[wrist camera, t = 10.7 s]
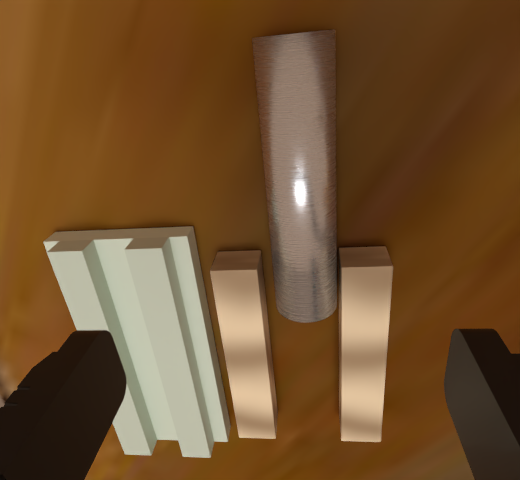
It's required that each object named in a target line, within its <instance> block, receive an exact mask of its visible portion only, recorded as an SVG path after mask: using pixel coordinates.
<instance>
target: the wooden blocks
mask: <svg viewBox="0 0 520 480" xmlns="http://www.w3.org/2000/svg"><path fill="white" fill-rule="evenodd" d="M210 274H211V280H212V286H213V291H214V297H215V303H216V308H217V314H218V320H219V325H220V331H221V337H222V342H223V348H224V354H225V359H226V365H227V371H228V376H229V382H230V388H231V393H232V399H233V405H234V411H235V416H236V422H237V428H238V433H239V438H269V439H276V430H277V416H278V410H277V400H276V391H275V381H274V372H273V362H272V352H271V343H270V333H269V324H268V314H267V305H266V295H265V285H264V276H263V266H262V257H261V250H252V251H221V252H217V255H216V257H215V259H214V262H213V264H212V267H211V269H210ZM392 274H393V265H392V262H391V259H390V257H389V254H388V251H387V249H386V246H378V247H347V248H339V419H340V430H341V441H362V442H381V430H382V416H383V402H384V387H385V373H386V359H387V345H388V331H389V317H390V302H391V288H392Z"/></svg>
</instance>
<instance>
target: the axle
mask: <svg viewBox="0 0 520 480" xmlns="http://www.w3.org/2000/svg"><path fill="white" fill-rule="evenodd" d="M252 43H253V54H254V65H255V76H256V87H257V98H258V109H259V120H260V131H261V142H262V153H263V163H264V174H265V185H266V196H267V207H268V218H269V229H270V240H271V251H272V262H273V273H274V284H275V295H276V306H277V309H278V311H279V313H280V314H281V315H282V316H284V317H285V318H287V319H289V320H292V321H296V322H316V321H320V320H323V319H325V318H327V317H329V316H330V315H331V314H332V313H333V312H334V311H335V309H336V307H337V239H336V56H335V29H333V30H323V31H314V32H304V33H295V34H285V35H276V36H266V37H257V38H252Z"/></svg>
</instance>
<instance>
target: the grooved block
mask: <svg viewBox="0 0 520 480" xmlns="http://www.w3.org/2000/svg"><path fill="white" fill-rule="evenodd" d="M44 245H45V248H46V250H47V254H48V257H49V259H50V262H51V264H52V267H53V270H54V272H55V275H56V277H57V280H58V283H59V285H60V288H61V290H62V293H63V296H64V298H65V301H66V303H67V306H68V308H69V311H70V314H71V316H72V319H73V321H74V324H75V327H76V329H77V330H107V331H109V332H110V333H111V335H112V337H113V340H114V343H115V345H116V348H117V351H118V354H119V357H120V360H121V363H122V365H123V368H124V371H125V374H126V381H127V384H126V393H125V396H124V399H123V402H122V404H121V406H120V408H119V410H118V412H117V414H116V416H115V418H114V420H113V425H114V428H115V430H116V433H117V435H118V438H119V440H120V443H121V446H122V448H123V451H124V453H125V454H129V455H152V452H153V450H154V447H155V444H156V441H157V439H158V440H178V441H179V444H180V448H181V451H182V455H183V457H205V458H211V454H212V449H213V445H214V441H217V442H228V438H229V433H230V428H231V426H230V420H229V415H228V410H227V404H226V399H225V394H224V388H223V383H222V378H221V372H220V367H219V362H218V356H217V351H216V346H215V340H214V335H213V330H212V324H211V319H210V314H209V308H208V303H207V298H206V292H205V287H204V282H203V276H202V271H201V266H200V260H199V255H198V250H197V244H196V239H195V234H194V228H193V226H186V227H162V228H137V229H113V230H89V231H64V232H55V233H54V234H52V235H51V236H50V237H49V238H47V239H46V240H45V241H44Z"/></svg>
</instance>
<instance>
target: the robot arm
mask: <svg viewBox="0 0 520 480" xmlns="http://www.w3.org/2000/svg"><path fill="white" fill-rule="evenodd" d="M126 384H127V381H126V374H125V371H124V368H123V365H122V363H121V360H120V357H119V354H118V351H117V348H116V345H115V343H114V340H113V337H112V335H111V333H110V332H109V331H107V330H77V331H75V332H73V333H72V334H71V335H70V336H69V337H68V339H67V340H66V341H65V343H64V344H63V345H62V347H61V348H60V349H59V350H58V352H52V353H51V354H50V355H49V356H47V357H46V358H45V359H43V360H42V361H41V362H40V363H38V364H37V365H36V366H34V367H33V368H32V369H31V370H30V372H29V373H28V374H27V375H26V377H25V378H24V379H23V380H22V382H21V383H20V384H19V385H18V389H17V391H14V392H13V393H12V394H11V395H10V397H9V398H8V399H7V400H6V401H5V405H4V407H1V408H0V480H84V479H85V477H86V475H87V473H88V471H89V469H90V467H91V465H92V463H93V461H94V459H95V457H96V455H97V453H98V451H99V449H100V447H101V445H102V442H103V440H104V438H105V436H106V434H107V432H108V430H109V428H110V426H111V424H112V422H113V420H114V418H115V416H116V414H117V412H118V410H119V408H120V406H121V404H122V402H123V399H124V396H125V393H126ZM444 389H445V397H446V402H447V406H448V409H449V412H450V414H451V417H452V420H453V422H454V425H455V428H456V430H457V433H458V436H459V438H460V441H461V444H462V446H463V449H464V452H465V454H466V457H467V460H468V462H469V465H470V468H471V470H472V473H473V476H474V478H475V480H520V354H511V353H510V352H509V350H508V348H507V347H506V345H505V344H504V342H503V341H502V339H501V337H500V336H499V334H498V333H497V332H496V331H495V330H494V329H455V330H454V331H453V333H452V336H451V342H450V348H449V354H448V360H447V366H446V372H445V379H444Z"/></svg>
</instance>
